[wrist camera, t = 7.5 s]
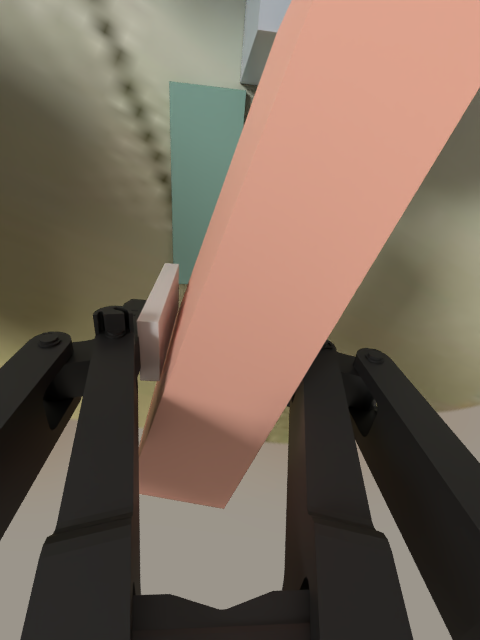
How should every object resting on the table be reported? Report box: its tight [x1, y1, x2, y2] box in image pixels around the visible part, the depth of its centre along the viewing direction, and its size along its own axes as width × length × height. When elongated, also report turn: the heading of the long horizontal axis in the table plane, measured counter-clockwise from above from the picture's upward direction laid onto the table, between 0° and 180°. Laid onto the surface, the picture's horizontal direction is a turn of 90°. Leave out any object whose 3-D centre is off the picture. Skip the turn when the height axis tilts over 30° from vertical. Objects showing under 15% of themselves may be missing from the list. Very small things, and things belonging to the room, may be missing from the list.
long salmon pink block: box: [139, 0, 480, 509], centre depth 12 cm, size 4×16×10 cm, turn 158°
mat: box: [169, 81, 246, 284], centre depth 28 cm, size 6×17×1 cm, turn 175°
